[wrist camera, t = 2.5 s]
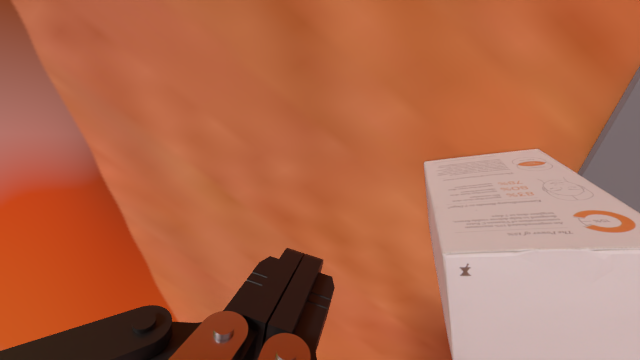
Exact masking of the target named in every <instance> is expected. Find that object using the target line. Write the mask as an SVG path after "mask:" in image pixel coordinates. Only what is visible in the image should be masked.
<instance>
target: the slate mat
mask: <svg viewBox="0 0 640 360" xmlns="http://www.w3.org/2000/svg"><path fill="white" fill-rule="evenodd" d="M578 174H579V175H580V176H582V177H584V178H585V179H587V180H588V181H590V182H591V183H593V184H595V185H596V186H598V187H599V188H601V189H603V190H604V191H606V192H607V193H609V194H611V195H612V196H614V197H615V198H617V199H618V200H620V201H622V202H623V203H625V204H626V205H628V206H629V207H631V208H633V209H634V210H636V211H637V212H639V213H640V67H639V68H638V70H637V72H636V74H635V75H634V77H633V79H632V80H631V82H630V84H629V86H628V87H627V89H626V91H625V93H624V94H623V96H622V98H621V99H620V101H619V103H618V105H617V106H616V108H615V110H614V112H613V113H612V115H611V117H610V118H609V120H608V122H607V124H606V125H605V127H604V129H603V131H602V132H601V134H600V136H599V137H598V139H597V141H596V143H595V144H594V146H593V148H592V150H591V151H590V153H589V155H588V156H587V158H586V160H585V162H584V163H583V165H582V167H581V169H580V170H579V172H578Z"/></svg>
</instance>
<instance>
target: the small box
mask: <svg viewBox="0 0 640 360" xmlns="http://www.w3.org/2000/svg"><path fill="white" fill-rule="evenodd" d="M424 172H425V183H426V195H427V206H428V217H429V228H430V235H431V241H432V247H433V254H434V260H435V266H436V271H437V277H438V283H439V289H440V295H441V301H442V307H443V313H444V319H445V324H446V330H447V335H448V341H449V346H450V351H451V356H452V360H640V213H639V212H637V211H636V210H634V209H633V208H631V207H629V206H628V205H626V204H625V203H623V202H622V201H620V200H618V199H617V198H615V197H614V196H612V195H611V194H609V193H607V192H606V191H604V190H603V189H601V188H599V187H598V186H596V185H595V184H593V183H591V182H590V181H588V180H587V179H585V178H584V177H582V176H580V175H579V174H577V173H576V172H574V171H572V170H571V169H569V168H568V167H566V166H564V165H563V164H561V163H560V162H558V161H557V160H555V159H553V158H552V157H550V156H549V155H547V154H545V153H544V152H542V151H541V150H539V149H532V150H522V151H513V152H504V153H495V154H486V155H477V156H468V157H459V158H451V159H442V160H435V161H426V162H424Z"/></svg>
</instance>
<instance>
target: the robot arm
mask: <svg viewBox="0 0 640 360" xmlns="http://www.w3.org/2000/svg"><path fill="white" fill-rule="evenodd" d="M322 265H323V259H320V258H317V257H314V256H311V255H308V254H304V253H301V252H298V251H295V250H292V249H289V248H286V250H285V251H284V253H283V254H282V256H281V257H280V259H277V258H274V257H271V256H270V257H268V258H266V259H265V260H263V261H261V262H259V264H258V265H257V266H256V268H255V269H254V270H253V272H252V273H251V274H250V276H249V277H248V278H247V281H245V282H244V284H243V285H242V286H241V288H240V289H239V290H238V292H237V293H236V295H235V296H234V297H233V299H232V300H231V301H230V303H229V304H228V305H227V307H226V308H225V309H224V310H223V311H221V312H217V313H214V314H212V315H210V316H209V317H207V318H206V319H205V320H204V321H203V322H200V323H185V322H172V317H171V314H170V313H169V311H168V310H167V309H165V308H163V307H160V306H153V305H152V306H143V307H140V308H136V309H134V310H130V311H127V312H124V313H121V314H117V315H114V316H111V317H108V318H105V319H102V320H98V321H95V322H92V323H89V324H85V325H82V326H79V327H76V328H73V329H69V330H66V331H63V332H60V333H57V334H53V335H51V336H47V337H44V338H41V339H38V340H35V341H31V342H28V343H25V344H21V345H18V346H15V347H12V348H9V349H6V350H2V351H0V360H317V358H316V350H317V346H318V343H319V340H320V337H321V334H322V330H323V327H324V324H325V321H326V317H327V314H328V310H329V306H330V303H331V299H332V295H333V291H334V284H333V279H332V277H331V276H328V275H325V274H322V273H321V269H322Z"/></svg>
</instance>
